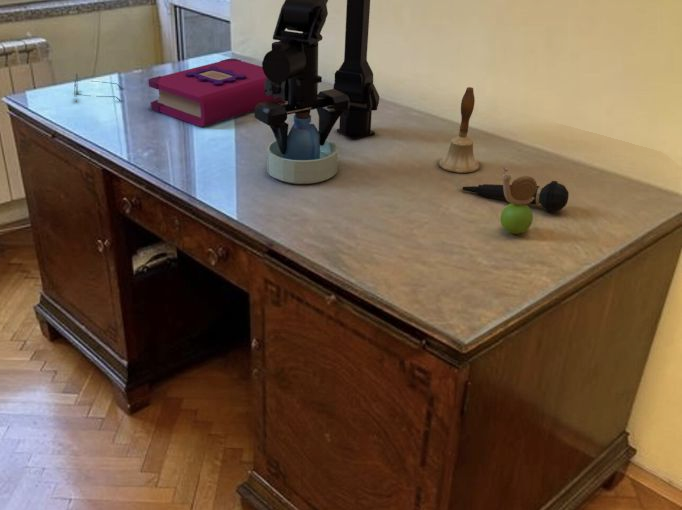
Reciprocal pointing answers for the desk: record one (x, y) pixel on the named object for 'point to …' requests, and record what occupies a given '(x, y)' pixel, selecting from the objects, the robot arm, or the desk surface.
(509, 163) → the desk surface
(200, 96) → the book
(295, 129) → the perfume bottle
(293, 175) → the bowl
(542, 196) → the microphone
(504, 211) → the snail figurine
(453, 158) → the hand bell
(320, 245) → the desk surface
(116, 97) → the eyeglasses
